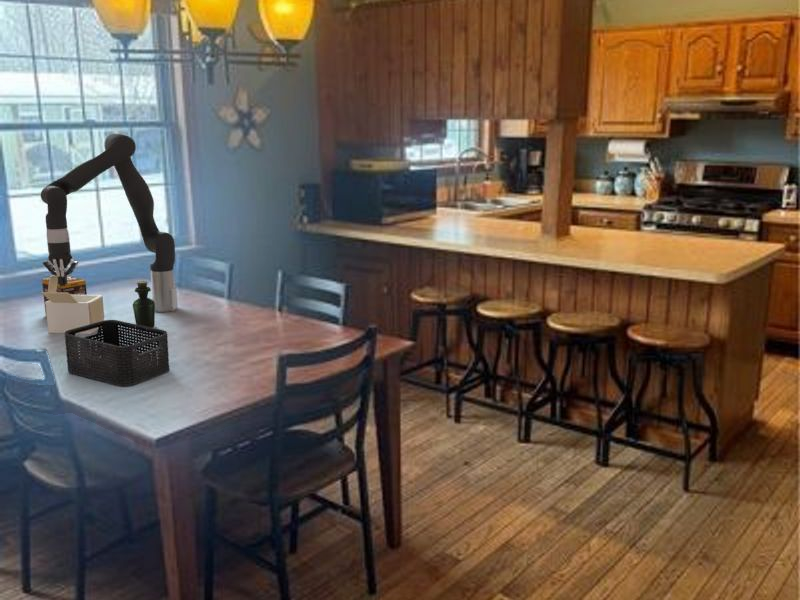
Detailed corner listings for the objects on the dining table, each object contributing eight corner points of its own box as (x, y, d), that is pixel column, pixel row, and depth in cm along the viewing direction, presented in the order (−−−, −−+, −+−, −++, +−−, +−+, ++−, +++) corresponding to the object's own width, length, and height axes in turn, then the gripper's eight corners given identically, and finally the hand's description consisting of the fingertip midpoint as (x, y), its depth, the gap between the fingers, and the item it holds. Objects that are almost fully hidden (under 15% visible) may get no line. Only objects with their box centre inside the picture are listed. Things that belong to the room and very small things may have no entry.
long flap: (67, 292, 256) (67, 293, 256) (78, 302, 264) (78, 303, 264) (41, 291, 256) (41, 292, 256) (52, 301, 264) (52, 302, 264)
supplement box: (65, 322, 282) (61, 284, 278) (45, 316, 291) (41, 278, 287) (89, 317, 290) (86, 279, 286) (69, 311, 299) (66, 274, 295)
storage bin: (174, 370, 230) (172, 330, 227) (126, 389, 214) (123, 346, 210) (112, 356, 243) (109, 318, 240) (63, 373, 226) (58, 332, 223)
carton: (106, 324, 279) (103, 294, 277) (92, 333, 267) (89, 302, 264) (64, 323, 280) (61, 294, 277) (48, 332, 268) (45, 301, 265)
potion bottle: (134, 331, 271) (131, 285, 267) (134, 325, 279) (130, 280, 274) (157, 329, 274) (154, 283, 270) (155, 323, 282) (152, 279, 277)
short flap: (58, 273, 271) (57, 273, 271) (50, 276, 265) (49, 276, 265) (55, 295, 273) (54, 294, 273) (47, 298, 268) (46, 298, 268)
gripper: (35, 241, 262) (40, 287, 266) (71, 242, 261) (75, 288, 265) (45, 238, 269) (50, 283, 273) (80, 239, 269) (85, 284, 273)
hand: (63, 285), depth 269 cm, fingers closed
